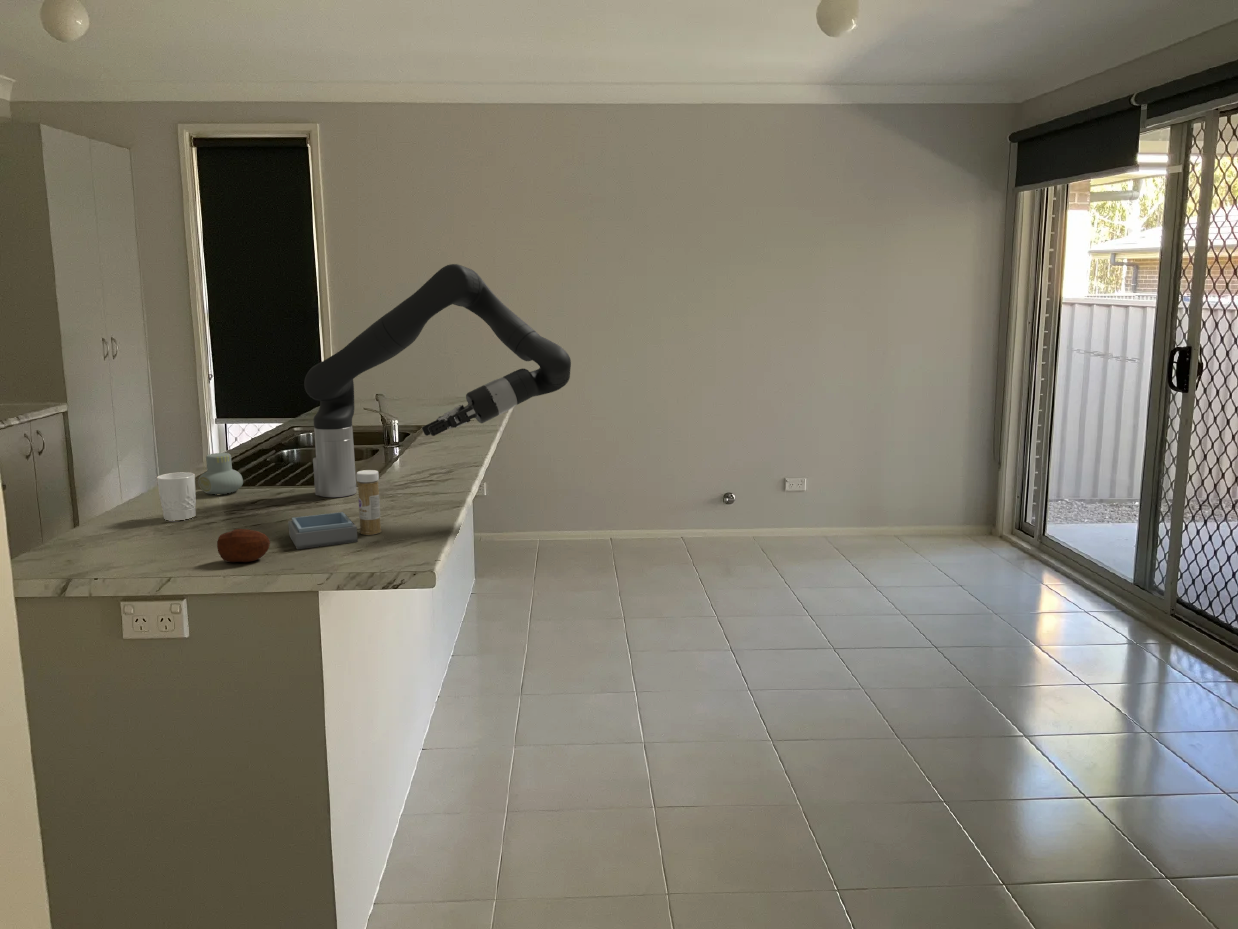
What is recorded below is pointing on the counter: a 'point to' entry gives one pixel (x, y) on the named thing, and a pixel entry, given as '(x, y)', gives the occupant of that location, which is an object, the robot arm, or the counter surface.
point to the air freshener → (220, 475)
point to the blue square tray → (322, 530)
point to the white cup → (177, 495)
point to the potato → (242, 545)
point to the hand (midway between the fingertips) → (426, 432)
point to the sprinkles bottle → (369, 502)
